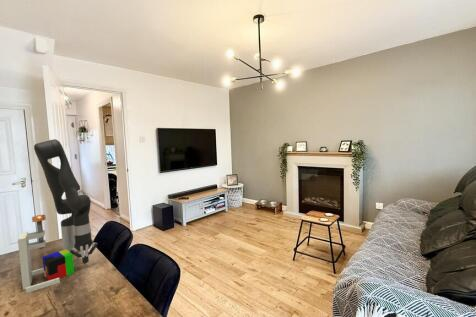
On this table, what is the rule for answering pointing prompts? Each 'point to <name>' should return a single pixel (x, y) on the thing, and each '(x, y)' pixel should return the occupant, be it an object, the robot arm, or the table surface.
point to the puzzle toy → (58, 265)
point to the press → (26, 261)
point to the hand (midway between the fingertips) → (85, 263)
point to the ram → (39, 226)
